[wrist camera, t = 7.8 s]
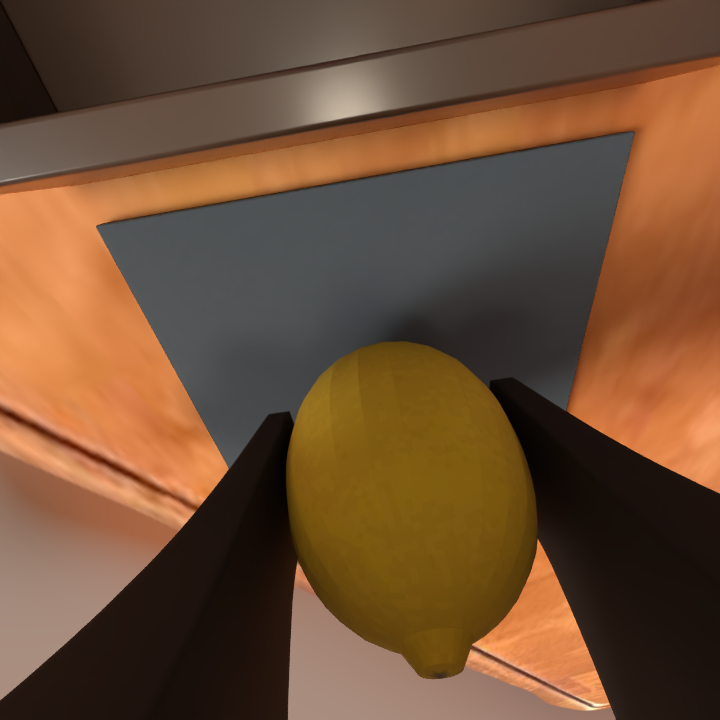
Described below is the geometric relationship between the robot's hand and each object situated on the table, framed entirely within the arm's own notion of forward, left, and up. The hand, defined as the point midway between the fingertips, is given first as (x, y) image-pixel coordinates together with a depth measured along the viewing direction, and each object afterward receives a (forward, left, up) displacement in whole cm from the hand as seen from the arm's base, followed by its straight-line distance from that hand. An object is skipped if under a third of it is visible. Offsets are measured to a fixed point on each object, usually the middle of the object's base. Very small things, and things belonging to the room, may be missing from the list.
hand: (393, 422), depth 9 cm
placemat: (0, 0, -3) cm, 3 cm away
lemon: (0, 0, -3) cm, 3 cm away
